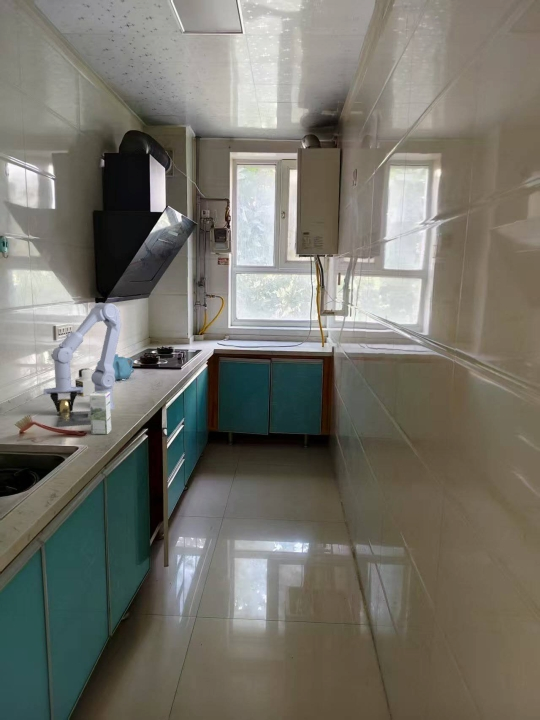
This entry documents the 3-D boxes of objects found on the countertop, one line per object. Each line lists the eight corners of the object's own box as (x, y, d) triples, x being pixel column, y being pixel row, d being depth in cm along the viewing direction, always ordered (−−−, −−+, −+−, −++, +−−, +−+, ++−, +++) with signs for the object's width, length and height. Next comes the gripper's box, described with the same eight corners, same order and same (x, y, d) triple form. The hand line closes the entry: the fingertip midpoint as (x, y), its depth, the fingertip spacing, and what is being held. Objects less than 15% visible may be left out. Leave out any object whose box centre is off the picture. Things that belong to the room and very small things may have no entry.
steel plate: (61, 417, 200) (61, 412, 200) (99, 415, 204) (99, 410, 204) (58, 427, 187) (58, 422, 186) (98, 424, 191) (98, 419, 191)
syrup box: (111, 430, 185) (110, 390, 183) (107, 434, 179) (105, 394, 177) (95, 429, 185) (94, 390, 182) (90, 434, 179) (89, 394, 177)
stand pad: (57, 413, 205) (57, 413, 205) (73, 412, 207) (73, 412, 207) (56, 417, 200) (56, 416, 200) (72, 416, 202) (72, 415, 202)
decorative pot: (112, 375, 285) (111, 351, 283) (137, 377, 280) (136, 353, 278) (94, 381, 270) (92, 355, 268) (119, 383, 265) (118, 357, 263)
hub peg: (59, 413, 205) (58, 398, 204) (71, 412, 206) (70, 398, 205) (58, 416, 201) (57, 401, 200) (70, 415, 202) (69, 400, 201)
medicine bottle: (75, 394, 240) (74, 369, 238) (89, 391, 245) (88, 367, 243) (83, 396, 235) (81, 371, 233) (97, 394, 240) (96, 369, 238)
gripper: (83, 374, 207) (84, 407, 209) (44, 376, 203) (46, 409, 205) (82, 378, 200) (83, 411, 203) (42, 379, 196) (44, 414, 198)
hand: (64, 411), depth 203 cm, fingers closed on hub peg, 4 cm apart
